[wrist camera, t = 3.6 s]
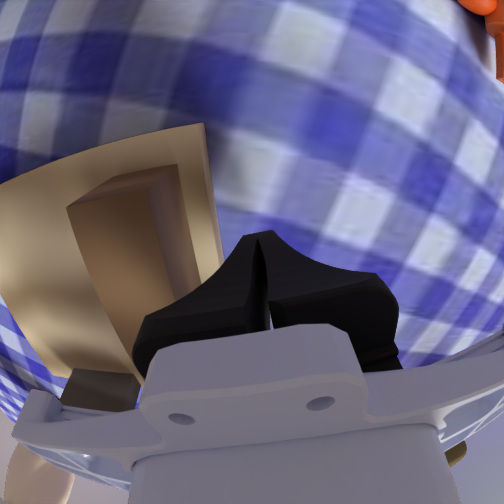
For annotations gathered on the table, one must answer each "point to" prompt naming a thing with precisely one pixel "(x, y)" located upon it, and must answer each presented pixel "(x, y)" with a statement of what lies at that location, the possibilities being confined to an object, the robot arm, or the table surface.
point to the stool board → (72, 264)
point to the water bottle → (35, 480)
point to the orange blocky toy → (491, 26)
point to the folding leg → (136, 246)
